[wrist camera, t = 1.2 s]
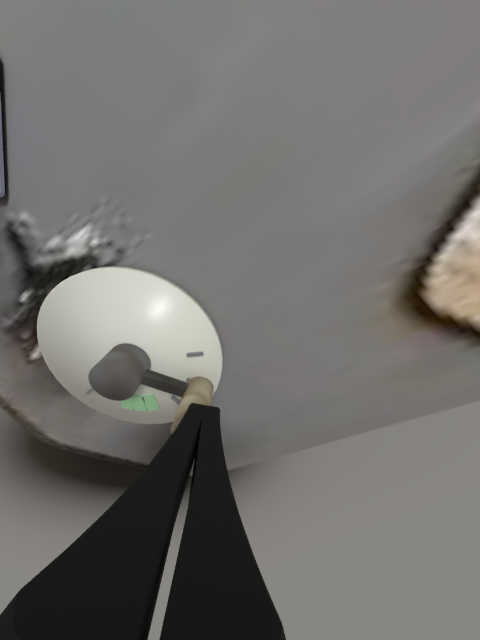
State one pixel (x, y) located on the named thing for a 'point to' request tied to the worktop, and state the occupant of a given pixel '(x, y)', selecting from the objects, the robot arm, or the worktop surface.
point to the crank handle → (144, 379)
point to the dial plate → (127, 336)
